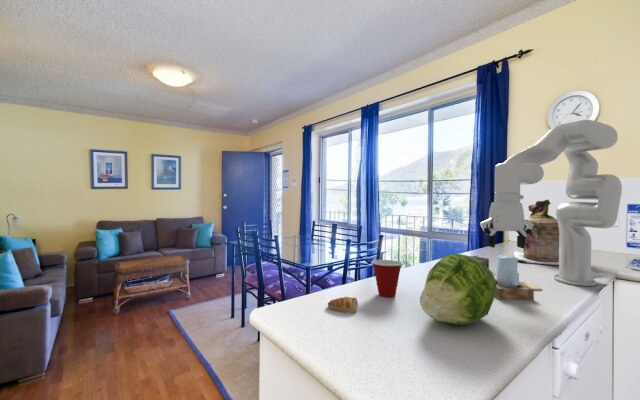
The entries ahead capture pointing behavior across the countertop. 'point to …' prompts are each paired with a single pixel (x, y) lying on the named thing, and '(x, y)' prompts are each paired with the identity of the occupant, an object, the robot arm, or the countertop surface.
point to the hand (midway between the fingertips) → (506, 247)
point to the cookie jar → (541, 237)
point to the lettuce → (458, 290)
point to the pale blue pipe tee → (507, 271)
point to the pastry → (344, 304)
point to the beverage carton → (482, 260)
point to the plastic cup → (387, 276)
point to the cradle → (515, 292)
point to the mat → (531, 286)
